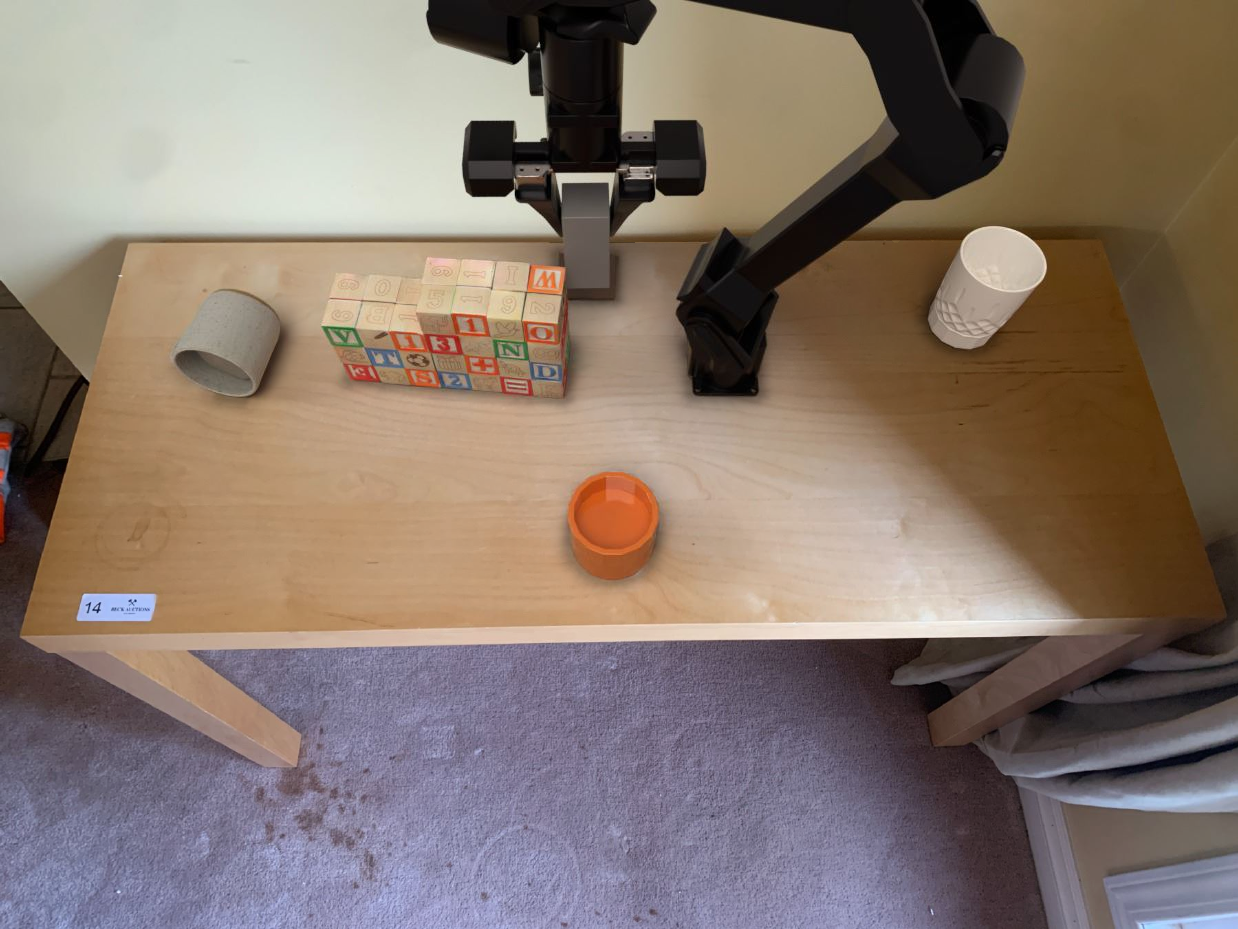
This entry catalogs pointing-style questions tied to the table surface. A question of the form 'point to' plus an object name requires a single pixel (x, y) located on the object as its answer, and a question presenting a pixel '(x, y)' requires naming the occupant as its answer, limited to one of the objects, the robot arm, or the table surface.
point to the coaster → (592, 292)
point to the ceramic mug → (228, 343)
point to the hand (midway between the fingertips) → (586, 233)
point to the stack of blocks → (455, 327)
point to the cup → (612, 524)
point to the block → (586, 234)
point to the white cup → (985, 285)
